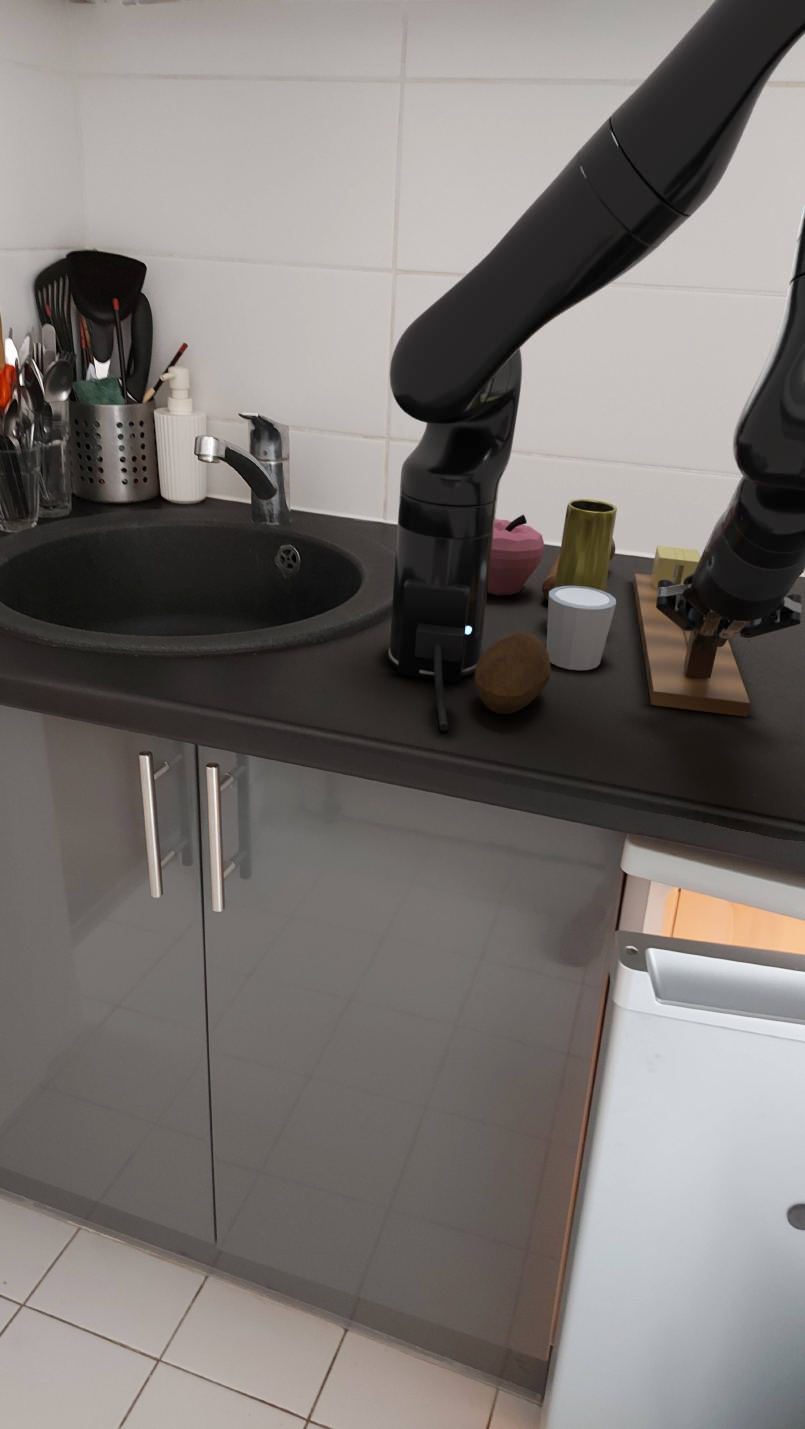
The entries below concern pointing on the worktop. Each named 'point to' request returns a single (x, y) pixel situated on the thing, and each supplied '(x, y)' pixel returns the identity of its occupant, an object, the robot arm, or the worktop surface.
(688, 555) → the yellow slotted block
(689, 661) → the dark brown upright post
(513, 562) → the apple
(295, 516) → the worktop surface
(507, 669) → the potato
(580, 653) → the white cup
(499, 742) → the worktop surface
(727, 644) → the cutting board
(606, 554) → the vase
